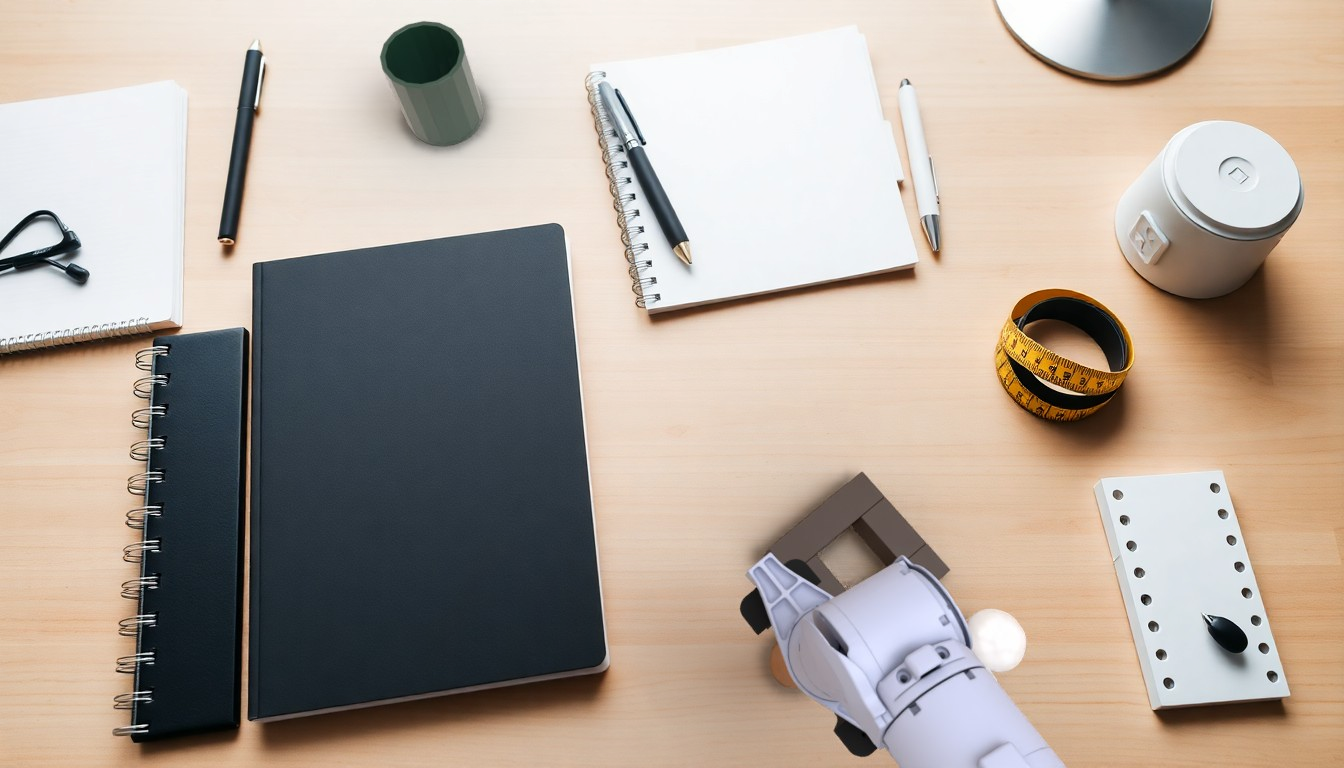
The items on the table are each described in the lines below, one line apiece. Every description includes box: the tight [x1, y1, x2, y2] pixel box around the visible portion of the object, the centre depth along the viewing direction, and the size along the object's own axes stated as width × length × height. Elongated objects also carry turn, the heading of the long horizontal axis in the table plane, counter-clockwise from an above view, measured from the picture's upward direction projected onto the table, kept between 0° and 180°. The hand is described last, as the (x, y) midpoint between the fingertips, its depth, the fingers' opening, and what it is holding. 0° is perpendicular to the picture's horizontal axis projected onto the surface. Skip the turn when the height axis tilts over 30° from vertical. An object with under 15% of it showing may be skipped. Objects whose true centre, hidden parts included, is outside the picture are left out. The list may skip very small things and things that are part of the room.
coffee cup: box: [379, 20, 484, 147], centre depth 84 cm, size 8×8×9 cm
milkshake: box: [965, 608, 1027, 682], centre depth 65 cm, size 5×5×10 cm
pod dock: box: [763, 471, 951, 597], centre depth 70 cm, size 11×11×4 cm
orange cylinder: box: [769, 643, 799, 689], centre depth 65 cm, size 4×4×8 cm
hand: (810, 658), depth 61 cm, fingers open, 7 cm apart
